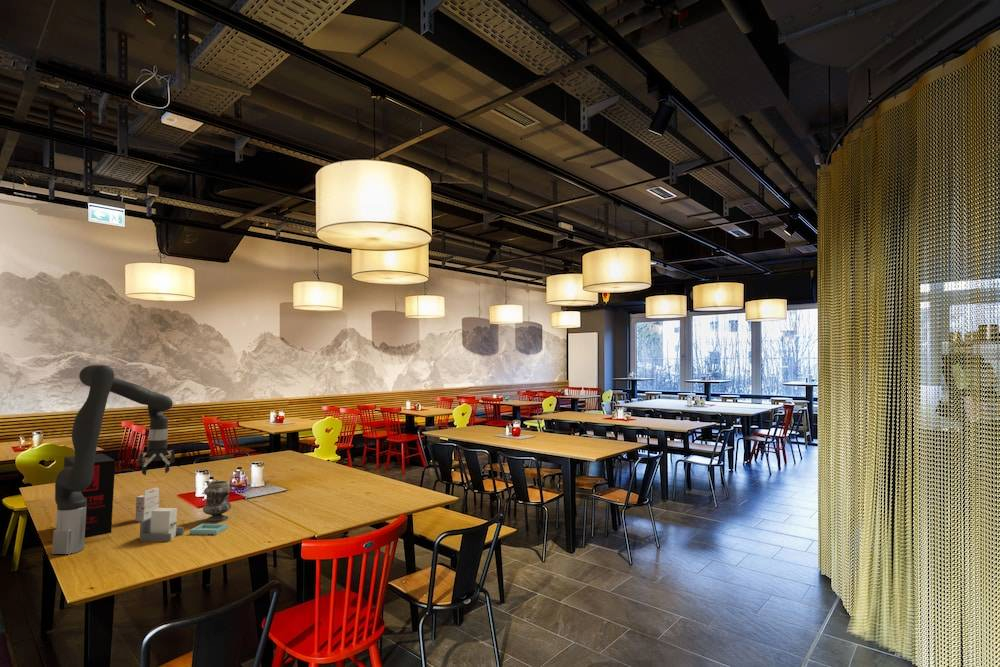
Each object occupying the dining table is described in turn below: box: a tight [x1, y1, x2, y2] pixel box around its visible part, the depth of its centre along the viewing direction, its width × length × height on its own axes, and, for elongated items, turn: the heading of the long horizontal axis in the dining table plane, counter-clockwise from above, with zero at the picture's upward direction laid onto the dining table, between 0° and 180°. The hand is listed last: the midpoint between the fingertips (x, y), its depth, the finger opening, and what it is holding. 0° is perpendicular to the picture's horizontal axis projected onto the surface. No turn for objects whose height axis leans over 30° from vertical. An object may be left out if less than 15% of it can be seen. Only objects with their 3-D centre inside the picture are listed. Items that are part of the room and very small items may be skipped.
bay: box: [139, 518, 185, 542], centre depth 224 cm, size 10×13×8 cm
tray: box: [189, 523, 229, 536], centre depth 233 cm, size 9×12×2 cm
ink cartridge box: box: [135, 486, 160, 522], centre depth 251 cm, size 9×5×15 cm, turn 168°
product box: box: [63, 453, 116, 538], centre depth 235 cm, size 26×14×32 cm, turn 48°
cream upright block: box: [150, 507, 178, 539], centre depth 224 cm, size 5×9×12 cm, turn 89°
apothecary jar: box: [202, 480, 232, 523], centre depth 251 cm, size 12×12×18 cm
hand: (155, 473), depth 240 cm, fingers open, 8 cm apart
